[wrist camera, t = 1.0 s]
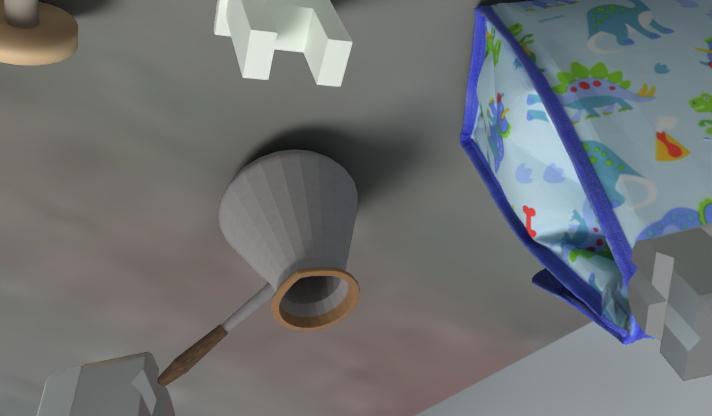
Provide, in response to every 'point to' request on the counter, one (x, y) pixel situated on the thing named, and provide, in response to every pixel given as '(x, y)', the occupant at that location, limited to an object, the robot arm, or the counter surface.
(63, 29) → the brown block with rod
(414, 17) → the counter surface
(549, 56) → the lunch bag
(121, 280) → the counter surface
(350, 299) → the coffee pot
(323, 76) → the brackets
